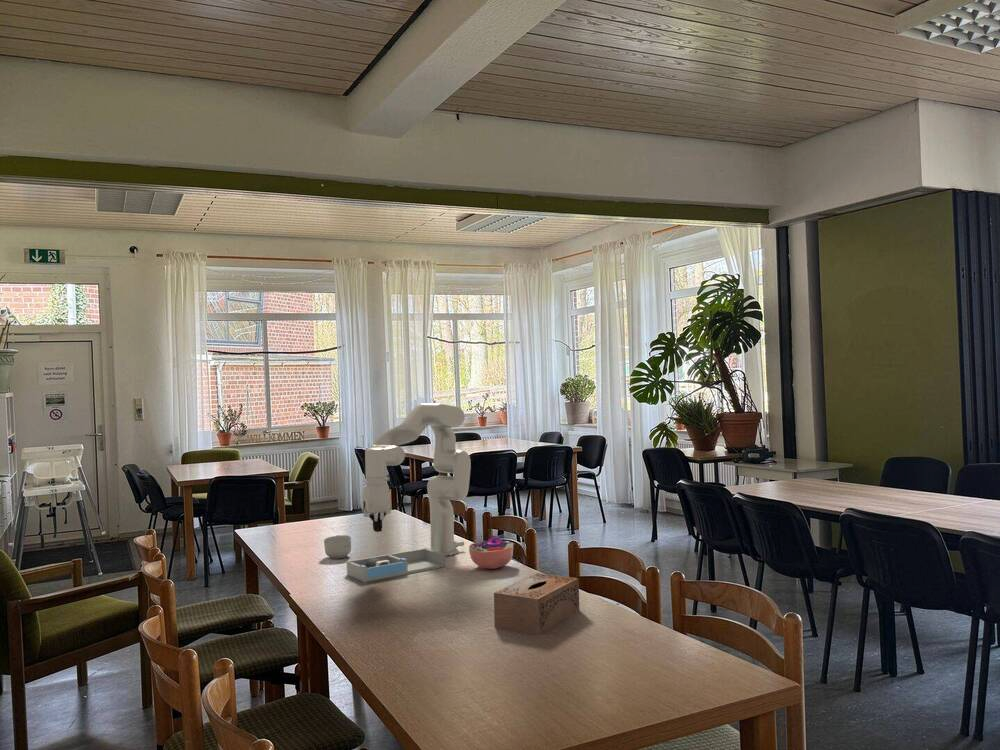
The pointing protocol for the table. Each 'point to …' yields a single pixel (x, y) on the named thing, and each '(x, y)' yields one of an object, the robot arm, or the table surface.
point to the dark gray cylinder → (376, 562)
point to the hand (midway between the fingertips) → (377, 531)
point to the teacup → (337, 546)
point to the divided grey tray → (396, 564)
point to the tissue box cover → (536, 602)
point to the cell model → (491, 553)
